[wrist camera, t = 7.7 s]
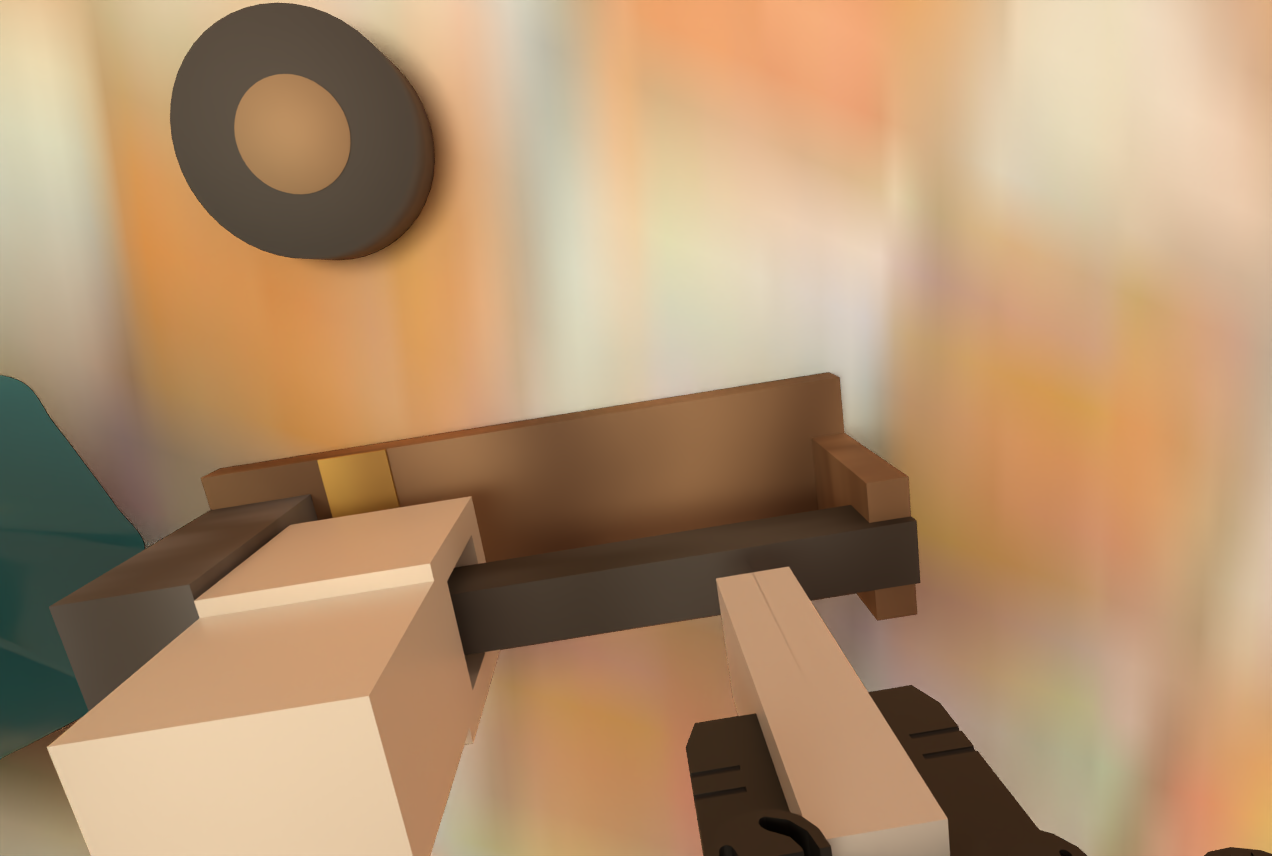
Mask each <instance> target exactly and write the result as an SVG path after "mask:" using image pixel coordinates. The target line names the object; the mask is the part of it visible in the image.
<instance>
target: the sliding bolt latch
mask: <svg viewBox="0 0 1272 856" xmlns="http://www.w3.org/2000/svg"><path fill="white" fill-rule="evenodd" d="M201 481H202V484H203V487H204V490H205V493H206V497H207V500H208V503H209V506H210V509H211V510H210V511H208V512H207V513H205V514H203V515H202V516H200V517H198V518H197V519H195V520H193V521H192V522H190V523H188V524H187V525H185V526H183V527H181V528H180V529H178V530H176V531H175V532H173V533H171V534H170V535H168V536H166V537H165V538H163V539H161V540H160V541H158V542H156V543H155V544H153V545H151V546H150V547H148V548H146V549H145V550H143V551H141V552H140V553H138V554H136V555H135V556H133V557H131V558H130V559H128V560H126V561H125V562H123V563H121V564H120V565H118V566H116V567H115V568H113V569H111V570H109V571H108V572H106V573H104V574H103V575H101V576H99V577H98V578H96V579H94V580H93V581H91V582H89V583H88V584H86V585H84V586H83V587H81V588H79V589H78V590H76V591H74V592H73V593H71V594H69V595H68V596H66V597H64V598H63V599H61V600H59V601H58V602H56V603H54V604H53V605H51V606H49V609H50V612H51V614H52V617H53V620H54V622H55V625H56V627H57V630H58V633H59V635H60V638H61V640H62V643H63V646H64V648H65V651H66V653H67V656H68V659H69V661H70V664H71V666H72V669H73V672H74V674H75V677H76V679H77V682H78V685H79V687H80V690H81V692H82V695H83V698H84V700H85V703H86V705H87V708H88V711H90V710H91V709H93V708H94V707H95V706H96V705H97V704H98V703H100V702H101V701H102V700H103V699H104V698H106V697H107V696H108V695H109V694H110V693H111V692H113V691H114V690H115V689H116V688H117V687H119V686H120V685H121V684H122V683H123V682H124V681H126V680H127V679H128V678H129V677H130V676H132V675H133V674H134V673H135V672H136V671H138V670H139V669H140V668H141V667H142V666H143V665H145V664H146V663H147V662H148V661H149V660H151V659H152V658H153V657H154V656H155V655H156V654H158V653H159V652H160V651H161V650H162V649H164V648H165V647H166V646H167V645H168V644H169V643H171V642H172V641H173V640H174V639H175V638H177V637H178V636H179V635H180V634H181V633H183V632H184V631H185V630H186V629H187V628H188V627H190V626H191V625H192V624H193V623H194V622H196V621H197V620H198V619H199V615H198V612H197V609H196V606H195V603H194V600H196V599H197V598H198V597H199V596H201V595H202V594H203V593H205V592H206V591H207V590H208V589H210V588H211V587H212V586H213V585H215V584H216V583H217V582H218V581H220V580H221V579H222V578H223V577H225V576H226V575H227V574H229V573H230V572H231V571H232V570H234V569H235V568H236V567H237V566H239V565H240V564H241V563H242V562H244V561H245V560H246V559H247V558H249V557H250V556H251V555H253V554H254V553H255V552H256V551H258V550H259V549H260V548H261V547H263V546H264V545H265V544H266V543H268V542H269V541H270V540H271V539H273V538H274V537H275V536H277V535H278V534H279V533H280V532H282V531H283V530H284V529H285V528H287V527H288V526H289V525H292V524H299V523H305V522H311V521H318V520H324V519H330V518H337V517H343V516H349V515H355V514H362V513H368V512H374V511H381V510H387V509H393V508H400V507H406V506H412V505H419V504H425V503H431V502H438V501H444V500H450V499H457V498H463V497H469V496H472V501H473V505H474V510H475V515H476V519H477V524H478V528H479V533H480V537H481V542H482V546H483V551H484V556H485V560H486V563H480V564H474V565H467V566H461V567H455V568H454V569H453V571H452V573H451V575H450V577H449V579H448V580H447V583H448V588H449V592H450V596H451V600H452V605H453V609H454V613H455V617H456V622H457V626H458V630H459V634H460V639H461V643H462V647H463V651H464V655H469V654H476V653H482V652H488V651H495V650H503V649H509V648H515V647H522V646H528V645H534V644H540V643H547V642H553V641H559V640H566V639H572V638H578V637H585V636H591V635H597V634H603V633H610V632H616V631H622V630H629V629H635V628H641V627H648V626H654V625H660V624H666V623H673V622H679V621H685V620H692V619H698V618H704V617H711V616H717V615H721V612H720V604H719V597H718V590H717V583H716V578H722V577H728V576H734V575H740V574H746V573H752V572H758V571H765V570H771V569H777V568H783V567H789V568H790V569H791V571H792V572H793V574H794V576H795V577H796V579H797V580H798V582H799V584H800V585H801V587H802V588H803V590H804V591H805V593H806V595H807V596H808V598H809V599H810V601H811V600H818V599H824V598H830V597H836V596H843V595H849V594H855V593H857V595H858V596H859V597H860V599H861V600H862V601H863V603H864V604H865V605H866V606H867V608H868V609H869V610H870V612H871V613H872V614H873V616H874V617H875V618H876V620H877V621H878V620H884V619H891V618H897V617H903V616H910V615H916V614H917V603H916V587H915V584H917V583H920V570H919V554H918V538H917V522H916V520H915V519H914V518H912V517H911V510H910V494H909V479H908V476H907V475H905V474H904V473H902V472H901V471H899V470H898V469H896V468H895V467H893V466H892V465H891V464H889V463H888V462H886V461H885V460H883V459H882V458H880V457H879V456H877V455H876V454H875V453H873V452H872V451H870V450H869V449H867V448H866V447H864V446H863V445H861V444H860V443H858V442H857V441H856V440H854V439H853V438H851V437H850V436H848V435H847V434H845V433H844V424H843V412H842V400H841V389H840V377H838V376H836V375H834V374H831V373H829V372H828V373H822V374H815V375H809V376H803V377H796V378H790V379H784V380H777V381H771V382H765V383H758V384H752V385H746V386H739V387H733V388H727V389H720V390H714V391H708V392H701V393H695V394H689V395H682V396H676V397H670V398H663V399H657V400H651V401H644V402H638V403H632V404H625V405H619V406H613V407H606V408H600V409H594V410H587V411H581V412H575V413H568V414H562V415H556V416H550V417H543V418H537V419H531V420H524V421H518V422H512V423H505V424H499V425H493V426H486V427H480V428H474V429H467V430H461V431H455V432H448V433H442V434H436V435H429V436H423V437H417V438H410V439H404V440H398V441H391V442H385V443H379V444H372V445H366V446H360V447H353V448H347V449H341V450H334V451H328V452H322V453H315V454H309V455H303V456H296V457H290V458H284V459H277V460H271V461H265V462H258V463H252V464H246V465H239V466H233V467H227V468H220V469H218V470H216V471H214V472H212V473H210V474H208V475H206V476H204V477H202V478H201Z"/></svg>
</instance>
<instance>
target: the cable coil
mask: <svg viewBox="0 0 1272 856" xmlns="http://www.w3.org/2000/svg"><path fill="white" fill-rule="evenodd" d="M170 124H171V134H172V140H173V145H174V149H175V154H176V157H177V160H178V162H179V165H180V168H181V171H182V173H183V175H184V177H185V179H186V181H187V183H188V185H189V187H190V188H191V190H192V191H193V193H194V195H195V196H196V198H197V199H198V201H199V202H200V203H201V204H202V206H203V207H204V208H205V209H206V210H207V212H208V213H209V214H210V215H211V216H212V217H213V218H214V219H215V220H216V221H217V222H218V223H219V224H220V225H221V226H223V227H224V228H225V229H226V230H228V231H229V232H230V233H232V234H233V235H234V236H236V237H238V238H239V239H241V240H243V241H244V242H246V243H248V244H249V245H252V246H254V247H256V248H258V249H261V250H263V251H266V252H269V253H272V254H276V255H279V256H285V257H290V258H302V259H325V260H346V259H354V258H359V257H363V256H367V255H369V254H372V253H374V252H377V251H379V250H381V249H383V248H385V247H386V246H388V245H390V244H391V243H393V242H394V241H395V240H397V239H398V238H399V237H401V236H402V235H403V234H404V233H405V232H406V230H407V229H408V228H409V227H410V226H411V225H412V224H413V222H414V221H415V220H416V218H417V217H418V215H419V213H420V212H421V210H422V208H423V206H424V204H425V202H426V199H427V197H428V194H429V192H430V188H431V183H432V179H433V172H434V163H435V162H434V143H433V136H432V131H431V127H430V124H429V120H428V117H427V114H426V112H425V109H424V107H423V105H422V103H421V101H420V99H419V97H418V95H417V93H416V92H415V90H414V88H413V87H412V86H411V84H410V83H409V81H408V80H407V79H406V77H405V76H404V75H403V74H402V73H401V72H400V71H399V70H398V69H397V67H396V66H395V65H394V64H393V63H392V62H390V61H389V60H388V59H387V58H386V57H385V56H384V55H383V54H382V53H381V52H380V51H379V50H378V49H377V48H376V47H375V46H374V45H373V44H372V43H371V42H370V41H368V40H367V39H366V38H365V37H364V36H363V35H361V34H360V33H359V32H358V31H357V30H355V29H354V28H352V27H351V26H349V25H348V24H346V23H345V22H343V21H342V20H340V19H338V18H336V17H334V16H332V15H330V14H328V13H326V12H323V11H320V10H317V9H314V8H311V7H307V6H302V5H297V4H289V3H268V4H259V5H255V6H250V7H246V8H243V9H241V10H238V11H236V12H233V13H231V14H229V15H227V16H225V17H224V18H222V19H220V20H219V21H217V22H216V23H214V24H213V25H212V26H211V27H210V28H208V29H207V30H206V31H205V32H204V33H203V34H202V35H201V36H200V37H199V38H198V39H197V41H196V42H195V43H194V44H193V45H192V47H191V49H190V50H189V52H188V53H187V55H186V56H185V58H184V60H183V62H182V64H181V67H180V69H179V71H178V74H177V77H176V80H175V83H174V87H173V92H172V99H171V110H170Z"/></svg>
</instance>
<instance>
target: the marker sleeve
mask: <svg viewBox="0 0 1272 856" xmlns="http://www.w3.org/2000/svg"><path fill="white" fill-rule="evenodd" d="M480 563H486V560H485V556H484V551H483V546H482V542H481V537H480V533H479V528H478V524H477V519H476V515H475V510H474V505H473V501H472V496H469V497H463V498H457V499H450V500H444V501H438V502H431V503H425V504H419V505H412V506H406V507H400V508H393V509H387V510H381V511H374V512H368V513H362V514H355V515H349V516H343V517H337V518H330V519H324V520H318V521H311V522H305V523H299V524H292V525H289V526H288V527H287V528H285V529H284V530H283V531H282V532H280V533H279V534H278V535H277V536H275V537H274V538H273V539H271V540H270V541H269V542H268V543H266V544H265V545H264V546H263V547H261V548H260V549H259V550H258V551H256V552H255V553H254V554H253V555H251V556H250V557H249V558H247V559H246V560H245V561H244V562H242V563H241V564H240V565H239V566H237V567H236V568H235V569H234V570H232V571H231V572H230V573H229V574H227V575H226V576H225V577H223V578H222V579H221V580H220V581H218V582H217V583H216V584H215V585H213V586H212V587H211V588H210V589H208V590H207V591H206V592H205V593H203V594H202V595H201V596H199V597H198V598H197V599H196V600H194V603H195V606H196V609H197V612H198V615H199V619H198V620H197V621H196V622H194V623H193V624H192V625H191V626H190V627H188V628H187V629H186V630H185V631H184V632H183V633H181V634H180V635H179V636H178V637H177V638H175V639H174V640H173V641H172V642H171V643H169V644H168V645H167V646H166V647H165V648H164V649H162V650H161V651H160V652H159V653H158V654H156V655H155V656H154V657H153V658H152V659H151V660H149V661H148V662H147V663H146V664H145V665H143V666H142V667H141V668H140V669H139V670H138V671H136V672H135V673H134V674H133V675H132V676H130V677H129V678H128V679H127V680H126V681H124V682H123V683H122V684H121V685H120V686H119V687H117V688H116V689H115V690H114V691H113V692H111V693H110V694H109V695H108V696H107V697H106V698H104V699H103V700H102V701H101V702H100V703H98V704H97V705H96V706H95V707H94V708H93V709H91V710H90V711H89V712H88V713H87V714H85V715H84V716H83V717H82V718H81V719H79V720H78V721H77V722H76V723H75V724H74V725H72V726H71V727H70V728H69V729H68V730H66V731H65V732H64V733H63V734H62V735H61V736H59V737H58V738H57V739H56V740H55V741H53V742H52V743H51V744H50V745H49V746H48V747H47V749H48V751H49V754H50V756H51V759H52V761H53V764H54V766H55V769H56V771H57V774H58V776H59V778H60V781H61V783H62V786H63V788H64V791H65V793H66V796H67V798H68V801H69V803H70V806H71V808H72V811H73V813H74V815H75V818H76V820H77V823H78V825H79V828H80V830H81V833H82V835H83V838H84V840H85V843H86V845H87V847H88V850H89V852H90V855H91V856H430V855H431V852H432V848H433V845H434V842H435V839H436V835H437V832H438V829H439V826H440V822H441V819H442V816H443V813H444V809H445V806H446V803H447V800H448V796H449V793H450V790H451V787H452V783H453V780H454V777H455V774H456V770H457V767H458V764H459V761H460V757H461V754H462V751H463V748H464V745H467V744H473V742H474V739H475V735H476V732H477V729H478V725H479V722H480V718H481V715H482V711H483V708H484V704H485V701H486V697H487V694H488V691H489V687H490V684H491V680H492V677H493V673H494V670H495V666H496V663H497V659H498V656H499V652H500V650H495V651H488V652H482V653H476V654H469V655H464V651H463V647H462V643H461V639H460V634H459V630H458V626H457V622H456V617H455V613H454V609H453V605H452V600H451V596H450V592H449V588H448V583H447V580H448V579H449V577H450V575H451V573H452V571H453V569H454V568H455V567H461V566H467V565H474V564H480Z"/></svg>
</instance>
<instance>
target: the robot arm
mask: <svg viewBox="0 0 1272 856" xmlns="http://www.w3.org/2000/svg"><path fill="white" fill-rule="evenodd" d="M716 583H717V590H718V597H719V604H720V612H721V619H722V626H723V633H724V640H725V647H726V655H727V662H728V669H729V676H730V683H731V690H732V697H733V700H734V704H735V707H736V710H737V714H738V716H736V717H730V718H724V719H718V720H712V721H706V722H700V723H695V724H694V727H693V730H692V732H691V735H690V738H689V740H688V743H687V746H686V752H687V758H688V764H689V771H690V777H691V783H692V789H693V796H694V802H695V808H696V814H697V820H698V827H699V833H700V839H701V844H702V850H703V856H1087V855H1086V854H1085V853H1084V852H1083V851H1081V850H1080V849H1079V848H1078V847H1077V846H1075V845H1073V844H1071V843H1069V842H1067V841H1065V840H1064V839H1062V838H1060V837H1058V836H1056V835H1054V834H1052V833H1048V832H1044V831H1041V830H1039V829H1038V828H1037V826H1036V825H1035V824H1034V823H1033V821H1032V820H1031V819H1030V818H1029V816H1028V815H1027V814H1026V812H1025V811H1024V810H1023V809H1022V807H1021V806H1020V805H1019V803H1018V802H1017V801H1016V800H1015V798H1014V797H1013V796H1012V795H1011V793H1010V792H1009V791H1008V789H1007V788H1006V787H1005V786H1004V784H1003V783H1002V782H1001V780H1000V779H999V778H998V777H997V775H996V774H995V773H994V772H993V770H992V769H991V768H990V766H989V765H988V764H987V763H986V761H985V760H984V759H983V757H982V756H981V755H980V754H979V752H978V751H975V750H974V746H973V745H972V743H971V742H970V741H969V740H968V738H967V737H966V736H965V734H964V733H963V732H962V731H959V728H958V725H957V724H956V723H955V722H954V720H953V719H952V718H951V717H950V715H949V714H948V713H947V711H946V710H945V709H944V708H943V706H942V705H941V704H940V703H939V702H938V701H936V700H934V699H933V698H931V697H930V696H928V695H926V694H925V693H923V692H922V691H920V690H918V689H917V688H915V687H914V686H912V685H909V686H903V687H897V688H891V689H885V690H879V691H873V692H868V691H867V690H866V688H865V687H864V685H863V684H862V682H861V680H860V679H859V677H858V676H857V674H856V672H855V671H854V669H853V668H852V666H851V664H850V663H849V661H848V660H847V658H846V657H845V655H844V653H843V652H842V650H841V649H840V647H839V645H838V644H837V642H836V641H835V639H834V637H833V636H832V634H831V633H830V631H829V630H828V628H827V626H826V625H825V623H824V622H823V620H822V618H821V617H820V615H819V614H818V612H817V611H816V609H815V607H814V606H813V604H812V603H811V601H810V599H809V598H808V596H807V595H806V593H805V591H804V590H803V588H802V587H801V585H800V584H799V582H798V580H797V579H796V577H795V576H794V574H793V572H792V571H791V569H790V568H789V567H783V568H777V569H771V570H765V571H758V572H752V573H746V574H740V575H734V576H728V577H722V578H716ZM1205 856H1272V854H1270V853H1267V852H1264V851H1261V850H1253V849H1243V848H1233V847H1230V848H1225V849H1220V850H1215V851H1211V852H1208V853H1207V854H1206V855H1205Z"/></svg>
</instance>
